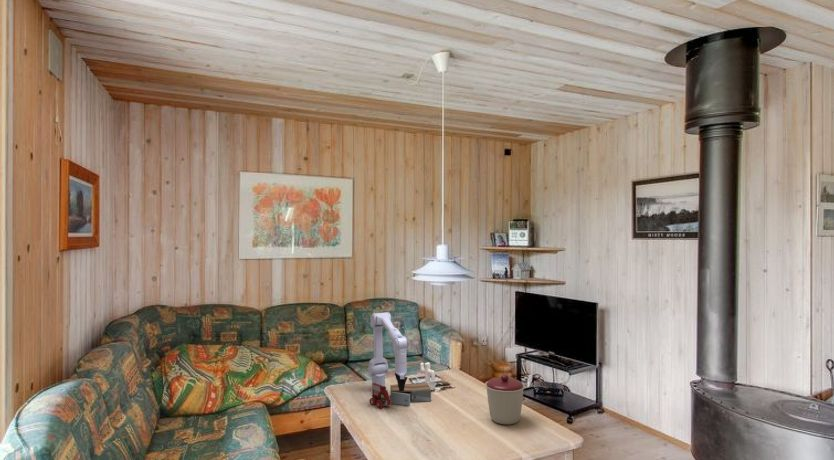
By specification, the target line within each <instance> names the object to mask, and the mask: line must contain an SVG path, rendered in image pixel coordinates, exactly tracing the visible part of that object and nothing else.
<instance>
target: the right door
mask: <svg viewBox="0 0 834 460" xmlns="http://www.w3.org/2000/svg"><path fill="white" fill-rule="evenodd" d="M391 404H395V405H402V406H408V407H409V406H411V402H410V394H405V393H398V392H392V401H391Z"/></svg>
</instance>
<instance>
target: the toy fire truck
mask: <svg viewBox="0 0 834 460" xmlns="http://www.w3.org/2000/svg"><path fill="white" fill-rule="evenodd" d="M371 388H372V394H371V397H370V398H369V405H370V406H371V407H376V408H377V409H378V410H380V409H381V410H382V408H383V406H385V407H389V406H391V404H392V401H391V397H390V395H389V392H388V390H387V387H386V385H385V386H382V385H379V384H376V383H373V384H372V383H371Z"/></svg>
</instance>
